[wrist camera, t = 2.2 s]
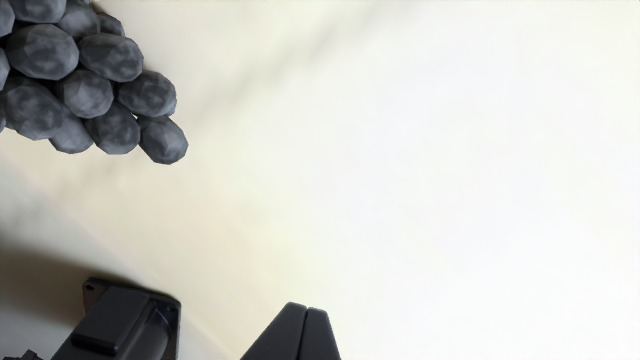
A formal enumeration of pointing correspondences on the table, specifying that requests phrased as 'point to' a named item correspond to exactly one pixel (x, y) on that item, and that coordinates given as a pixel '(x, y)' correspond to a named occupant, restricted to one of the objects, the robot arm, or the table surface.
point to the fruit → (82, 82)
